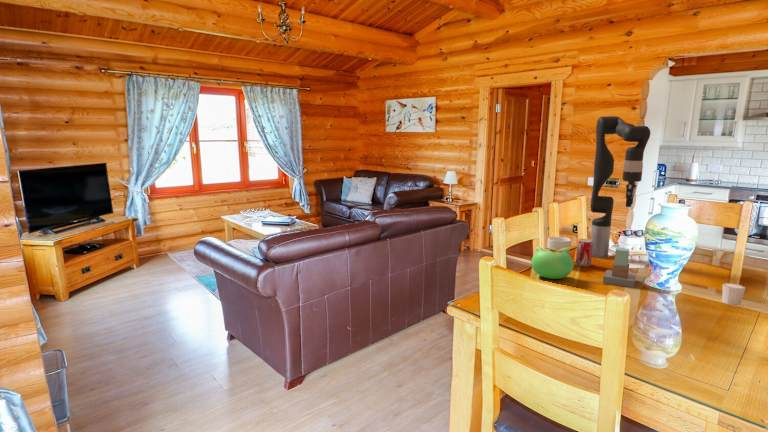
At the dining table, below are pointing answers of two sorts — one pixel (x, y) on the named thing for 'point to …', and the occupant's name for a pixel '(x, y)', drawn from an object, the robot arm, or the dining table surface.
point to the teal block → (621, 257)
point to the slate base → (619, 279)
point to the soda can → (584, 252)
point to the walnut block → (620, 271)
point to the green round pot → (552, 262)
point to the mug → (559, 243)
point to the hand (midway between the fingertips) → (629, 205)
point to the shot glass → (732, 293)
